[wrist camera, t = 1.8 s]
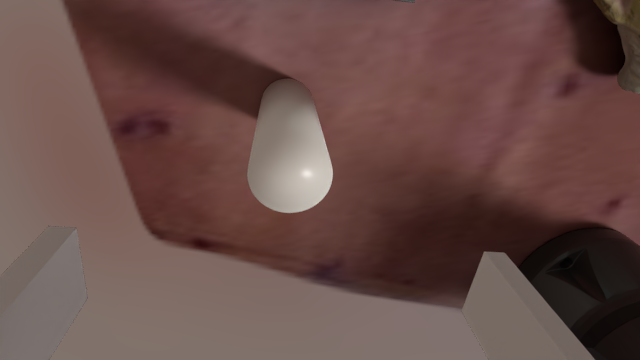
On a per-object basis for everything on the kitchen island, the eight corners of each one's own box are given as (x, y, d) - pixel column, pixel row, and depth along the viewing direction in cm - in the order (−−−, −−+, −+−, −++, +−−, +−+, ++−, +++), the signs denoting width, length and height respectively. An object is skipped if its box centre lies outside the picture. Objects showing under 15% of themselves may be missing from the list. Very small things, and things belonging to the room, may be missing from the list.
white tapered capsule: (310, 132, 34) (326, 215, 21) (259, 127, 33) (245, 209, 21) (316, 81, 32) (338, 140, 20) (262, 75, 32) (249, 131, 19)
